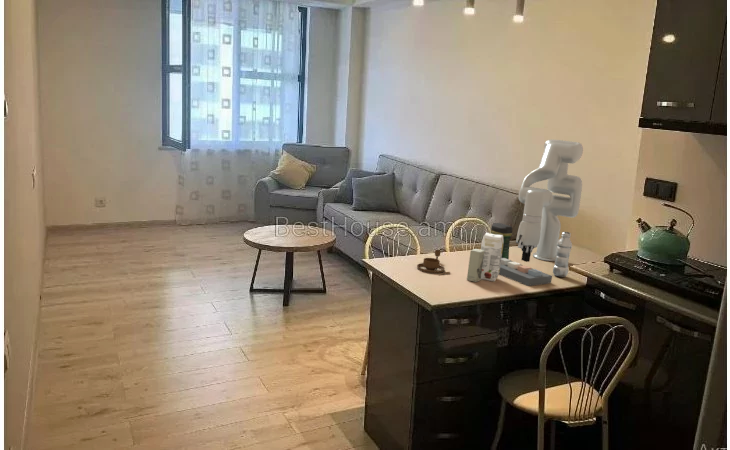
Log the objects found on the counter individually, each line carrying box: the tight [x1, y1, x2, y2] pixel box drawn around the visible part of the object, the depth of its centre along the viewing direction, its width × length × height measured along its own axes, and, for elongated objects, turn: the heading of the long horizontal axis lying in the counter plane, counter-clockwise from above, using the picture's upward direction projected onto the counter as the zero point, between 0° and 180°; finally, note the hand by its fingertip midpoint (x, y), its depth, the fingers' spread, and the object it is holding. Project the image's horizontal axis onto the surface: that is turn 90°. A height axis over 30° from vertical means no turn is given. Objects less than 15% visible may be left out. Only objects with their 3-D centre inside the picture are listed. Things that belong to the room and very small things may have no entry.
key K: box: [501, 258, 512, 265], centre depth 284 cm, size 4×4×2 cm
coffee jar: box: [490, 222, 513, 260], centre depth 296 cm, size 10×8×19 cm
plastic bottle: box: [552, 231, 573, 278], centre depth 282 cm, size 6×7×20 cm
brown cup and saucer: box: [416, 249, 451, 277], centre depth 278 cm, size 18×20×6 cm
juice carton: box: [480, 232, 504, 282], centre depth 268 cm, size 8×9×19 cm
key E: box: [528, 268, 543, 277], centre depth 270 cm, size 4×4×2 cm
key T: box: [517, 264, 532, 273], centre depth 275 cm, size 4×4×2 cm
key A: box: [507, 261, 522, 269], centre depth 280 cm, size 4×4×2 cm
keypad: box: [499, 260, 553, 287], centre depth 278 cm, size 14×25×3 cm, turn 33°
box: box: [466, 248, 484, 283], centre depth 264 cm, size 5×4×13 cm
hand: (525, 260), depth 274 cm, fingers closed
